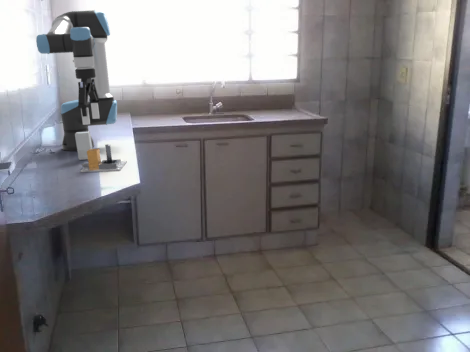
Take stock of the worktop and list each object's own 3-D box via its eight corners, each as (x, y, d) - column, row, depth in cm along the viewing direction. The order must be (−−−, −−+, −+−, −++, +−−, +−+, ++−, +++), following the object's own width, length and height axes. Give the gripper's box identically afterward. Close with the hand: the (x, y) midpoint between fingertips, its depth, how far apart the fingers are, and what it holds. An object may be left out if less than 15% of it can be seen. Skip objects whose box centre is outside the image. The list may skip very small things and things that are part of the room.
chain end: (80, 169, 201) (77, 152, 199) (85, 164, 208) (83, 148, 206) (116, 167, 201) (115, 150, 199) (120, 163, 208) (119, 146, 206)
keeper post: (89, 164, 211) (86, 142, 208) (126, 162, 211) (124, 141, 208) (80, 172, 198) (77, 149, 196) (120, 170, 198) (117, 147, 195)
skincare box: (94, 157, 223) (90, 130, 220) (92, 159, 219) (88, 132, 216) (80, 158, 223) (76, 131, 219) (78, 160, 218) (74, 133, 215)
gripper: (84, 66, 206) (91, 116, 212) (64, 70, 182) (72, 127, 188) (102, 65, 206) (108, 115, 212) (84, 70, 182) (91, 126, 188)
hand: (91, 121), depth 200 cm, fingers open, 13 cm apart
